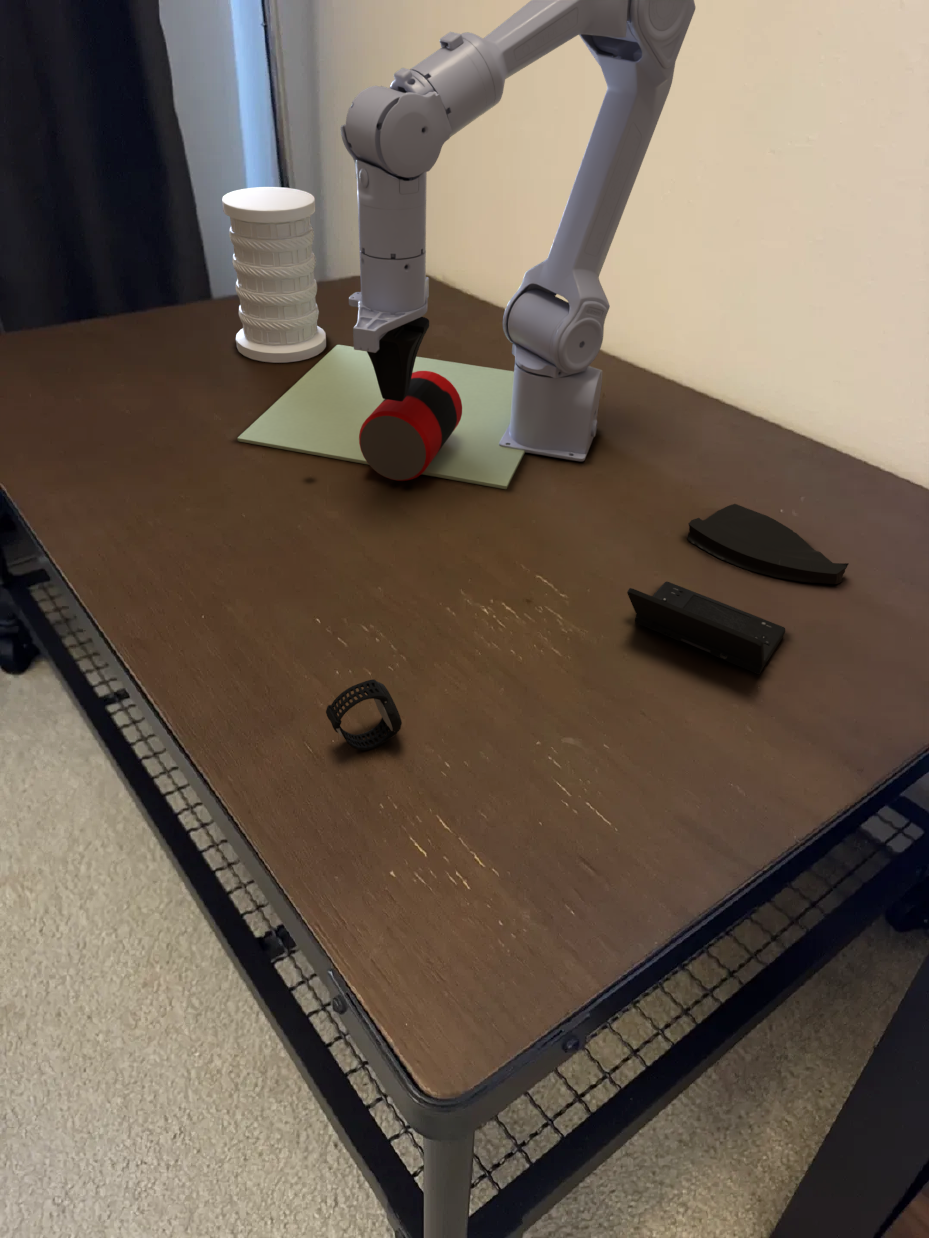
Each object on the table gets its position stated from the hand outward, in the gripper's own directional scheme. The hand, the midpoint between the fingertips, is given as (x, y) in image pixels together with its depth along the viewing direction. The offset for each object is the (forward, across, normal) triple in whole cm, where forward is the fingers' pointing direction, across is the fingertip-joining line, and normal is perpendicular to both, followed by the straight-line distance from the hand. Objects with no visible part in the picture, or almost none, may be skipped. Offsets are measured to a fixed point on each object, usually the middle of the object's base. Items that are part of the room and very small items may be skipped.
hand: (394, 397), depth 86 cm
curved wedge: (+10, 0, +36) cm, 37 cm away
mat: (+9, -17, -4) cm, 20 cm away
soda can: (+5, +1, 0) cm, 5 cm away
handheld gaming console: (+10, +15, +32) cm, 37 cm away
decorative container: (+10, -29, -26) cm, 40 cm away
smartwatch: (+10, +34, +10) cm, 37 cm away
